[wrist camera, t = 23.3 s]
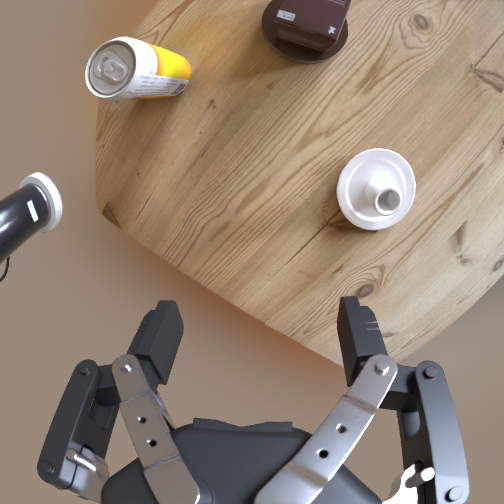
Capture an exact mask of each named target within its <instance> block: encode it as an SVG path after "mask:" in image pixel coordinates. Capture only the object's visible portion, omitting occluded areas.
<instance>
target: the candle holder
mask: <svg viewBox="0 0 504 504" xmlns="http://www.w3.org/2000/svg"><path fill="white" fill-rule="evenodd" d="M336 192H337V199H338V203H339V206H340V209H341V211H342V213H343V214H344V216H345V217H346V218H347V219H348V220H349V221H350V222H351V223H352V224H354V225H355V226H357V227H360V228H362V229H366V230H381V229H385V228H388V227H390V226H392V225H394V224H396V223H397V222H398V221H400V220H401V219H402V218H403V217H404V216H405V215H406V213H407V212H408V211H409V209H410V207H411V205H412V203H413V200H414V196H415V178H414V174H413V172H412V169H411V167H410V166H409V164H408V163H407V162H406V160H405V159H404V158H403V157H401V156H400V155H399V154H397V153H395V152H393V151H391V150H387V149H370V150H367V151H364V152H362V153H360V154H358V155H357V156H355V157H354V158H353V159H351V160H350V161H349V163H348V164H347V165H346V166H345V168H344V169H343V170H342V172H341V174H340V176H339V180H338V184H337V189H336Z"/></svg>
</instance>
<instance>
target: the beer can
mask: <svg viewBox="0 0 504 504" xmlns="http://www.w3.org/2000/svg"><path fill="white" fill-rule="evenodd" d="M190 77H191V68H190V65H189V63H188V62H187V60H186V59H185V58H184V57H182V56H180V55H178V54H175V53H173V52H170V51H168V50H165V49H162V48H159V47H157V46H154V45H151V44H148V43H145V42H142V41H139V40H136V39H133V38H129V37H121V38H116V39H113V40H111V41H108V42H105V43H104V44H102V45H100V46H99V47H98V48H97V49H96V50H95V51H94V52H93V53H92V55H91V56H90V58H89V60H88V62H87V65H86V69H85V80H86V85H87V87H88V89H89V90H90V92H92V93H93V94H94V95H95V96H97V97H98V98H100V99H102V100H104V101H108V102H115V101H124V100H134V99H146V98H163V97H172V96H175V95H177V94H179V93H180V92H182V91H183V90H184V89H185V88H186V86H187V85H188V83H189V81H190Z"/></svg>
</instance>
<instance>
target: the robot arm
mask: <svg viewBox="0 0 504 504" xmlns="http://www.w3.org/2000/svg"><path fill="white" fill-rule="evenodd" d="M50 217H51V207H50V203H49V200H48V197H47V195H46V193H45V192H44V190H43V189H42V188H41V187H40V186H39V185H37V184H35V183H28V184H26V185H24V186H23V187H22V188H20V189H19V190H17V191H15V192H14V193H12V194H10V195H8V196H7V197H5V198H4V199H2V200H1V201H0V264H1V263H2V262H3V261H4V260H6V259H7V264H6V269H5V272H4V274H3V276H2V277H1V278H0V282H1V281H2V280H3V279H4V278H5V276H6V274H7V271H8V267H9V258H10V255H11V254H12V253H13V252H14V251H15V250H17V249H18V248H19V247H20V246H21V245H22V244H23V243H25V242H26V241H27V240H28V239H29V238H30V237H31V236H33V235H34V234H35V233H37V232H38V231H39V230H40V229H42V228H44V227H45V226H46V225H47V224H48V223H49V221H50ZM140 325H141V326H140V327H139V329H138V332H137V333H136V335H135V337H134V339H133V341H132V343H131V345H130V347H129V350H128V352H127V354H125V355H121V356H120V357H118V358H117V359H116V360H115V361H114V362H113V364H111V365H104V366H98V365H97V364H96V362H95V361H93V360H89V359H88V360H83V361H82V362H80V363H79V364H78V365H77V366H76V367H75V369H74V372H73V374H72V376H71V378H70V381H69V382H68V385H67V387H66V389H65V391H64V394H63V396H62V398H61V401H60V403H59V406H58V408H57V411H56V413H55V415H54V418H53V421H52V423H51V426H50V428H49V432H48V434H47V437H46V439H45V442H44V445H43V448H42V451H41V454H40V457H39V460H38V464H37V470H38V474H39V476H40V478H41V479H42V480H44V481H45V482H47V483H49V484H51V485H53V486H55V487H56V488H58V489H60V490H62V491H64V492H66V493H69V494H71V495H74V496H77V497H80V498H82V499H85V500H89V499H90V500H92V501H95V502H98V503H100V504H464V503H465V502H466V499H467V498H468V495H469V481H468V473H467V466H466V460H465V454H464V449H463V443H462V438H461V434H460V429H459V425H458V421H457V417H456V413H455V409H454V405H453V402H452V398H451V394H450V391H449V388H448V384H447V381H446V378H445V375H444V372H443V369H442V368H441V366H440V365H439V364H437V363H436V362H433V361H423V362H421V363H420V364H419V365H418V366H417V367H408V366H402V365H399V364H397V363H396V362H395V361H394V359H393V358H391V357H390V356H388V354H387V351H386V347H385V344H384V341H383V338H382V335H381V332H380V330H379V326H378V323H377V320H376V318H375V315H374V312H373V311H372V310H371V309H370V308H369V307H368V306H360V304H359V301H358V298H357V296H345V297H341V298H340V304H339V311H338V318H337V331H338V336H339V342H340V347H341V352H342V358H343V363H344V369H345V374H346V381H347V386H348V387H351V388H350V389H349V391H348V392H347V393H346V395H343V396H342V397H341V398H340V400H339V401H338V403H337V404H336V405H335V407H334V408H333V409H332V411H331V412H330V413H329V415H328V416H327V417H326V419H325V420H324V421H323V423H322V424H321V425H320V427H319V428H318V429H317V430H316V432H315V433H314V434H313V435H312V434H310V433H308V432H306V431H304V430H301V429H298V428H293V427H292V422H265V423H260V424H255V425H250V426H245V427H239V426H235V425H232V424H228V423H225V422H222V421H218V420H211V419H201V418H194V420H193V424H188V425H184V426H181V427H179V428H177V427H176V425H175V424H174V422H173V421H172V419H171V417H170V415H169V413H168V411H167V409H166V407H165V405H164V403H163V401H162V399H161V397H160V395H159V393H158V391H157V387H158V384H163V385H166V384H167V381H168V378H169V375H170V372H171V369H172V365H173V362H174V359H175V356H176V353H177V350H178V347H179V344H180V341H181V338H182V335H183V328H184V327H183V321H182V318H181V315H180V313H179V310H178V307H177V304H176V302H175V301H174V300H173V301H171V300H170V301H169V300H160V301H159V302H158V305H157V307H156V309H155V310H151V311H150V312H149V313H147V315H145V317H144V318H143V321H142V322H141V324H140ZM93 399H94V400H93ZM92 401H93V403H92ZM91 404H92V406H91ZM90 407H91V408H90ZM119 407H120V410H121V413H122V416H123V419H124V422H125V424H126V427H127V429H128V432H129V435H130V437H131V440H132V442H133V445H134V447H135V450H136V452H137V454H138V458H136V459H135V460H134V461H132V462H131V463H130V464H128V465H127V466H125V467H124V468H123V469H121V470H120V471H119V472H117V473H116V474H114V475H113V476H111V477H110V478H109V475H110V473H109V471H108V465H107V463H106V462H105V456H106V452H107V448H108V444H109V441H110V437H111V434H112V430H113V427H114V423H115V420H116V417H117V413H118V410H119ZM378 408H383V409H390V410H396V411H397V417H398V423H399V431H400V438H401V446H402V456H403V466H404V472H402V473H401V474H399V475H398V476H397V477H396V478H395V480H394V481H393V483H392V488H391V493H390V495H389V497H388V498H387V499H386V500H385V501H384V502H381V500H380V498H379V497H378V496H377V495H376V494H375V493H374V492H373V491H371V490H370V489H369V488H368V487H367V486H366V485H365V484H364V483H363V482H362V481H361V480H359V479H358V478H357V477H356V476H355V475H354V474H353V473H352V472H351V471H350V470H349V469H348V468H347V467H346V466H345V465H343V462H344V461H345V459H346V457H347V456H348V455H349V454H350V452H351V450H352V449H353V447H354V446H355V445H356V443H357V442H358V440H359V439H360V437H361V436H362V434H363V433H364V431H365V429H366V428H367V426H368V425H369V423H370V421H371V420H372V418H373V416H374V415H375V413H376V411H377V409H378ZM89 410H90V411H89Z"/></svg>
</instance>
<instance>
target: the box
mask: <svg viewBox="0 0 504 504" xmlns="http://www.w3.org/2000/svg"><path fill="white" fill-rule="evenodd" d="M351 1H352V0H283V1H282V3H281V5H280V8H279V10H278V13H277V15H276V18H275V20H274V22H275V23H274V25H275V37H277V38H281V39H284V40H287V41H290V42H293V43H296V44H299V45H302V46H305V47H308V48H311V49H314V50H317V51H319V52H322V53H325V52H326V51H327V50H328V49H329V48H330V47H331V46H332V45H333V44H335V43H336V42H337V41H338V38H339V35H340V32H341V29H342V26H343V24H344V21H345V19H346V16H347V12H348V9H349V6H350V3H351Z"/></svg>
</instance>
